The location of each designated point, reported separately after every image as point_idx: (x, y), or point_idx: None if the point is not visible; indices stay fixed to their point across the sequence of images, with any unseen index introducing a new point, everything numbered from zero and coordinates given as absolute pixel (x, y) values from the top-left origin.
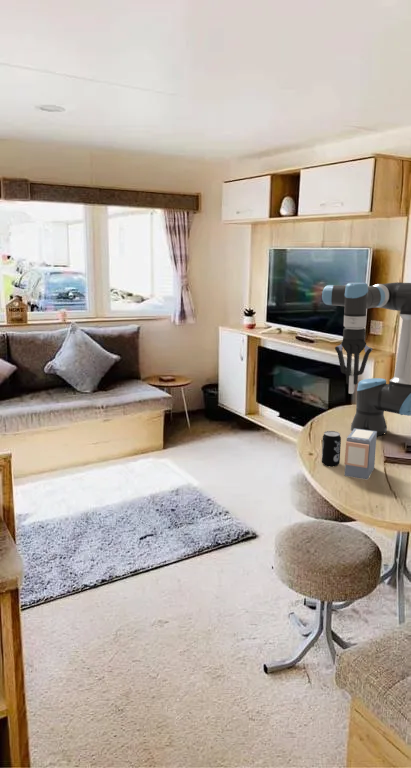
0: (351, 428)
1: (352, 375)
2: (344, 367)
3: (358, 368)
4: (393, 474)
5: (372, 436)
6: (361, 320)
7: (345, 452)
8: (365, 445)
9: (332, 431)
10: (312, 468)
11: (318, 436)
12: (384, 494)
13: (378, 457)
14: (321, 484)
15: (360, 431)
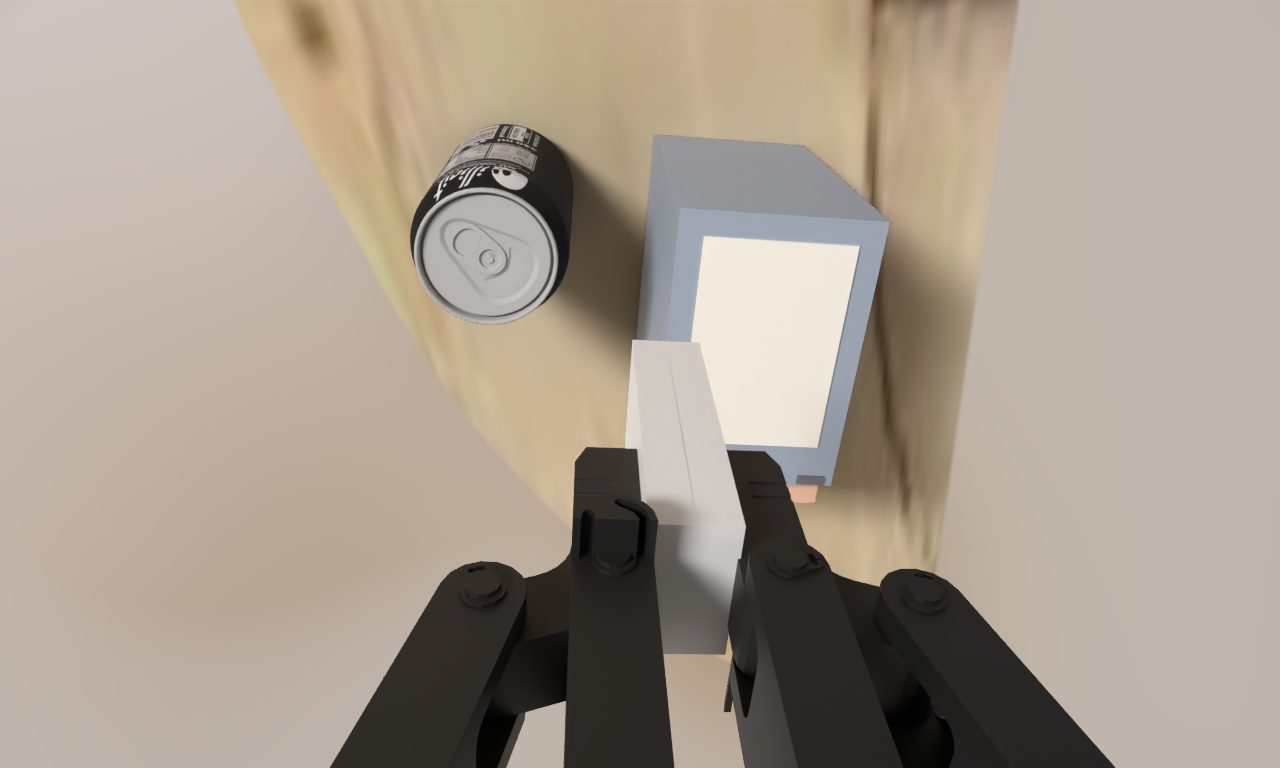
0: None
1: (697, 612)
2: (478, 674)
3: (858, 665)
4: (922, 212)
5: (848, 371)
6: None
7: None
8: (792, 499)
9: (473, 192)
10: (424, 306)
11: None
12: (855, 490)
13: None
14: (540, 494)
15: (744, 290)
